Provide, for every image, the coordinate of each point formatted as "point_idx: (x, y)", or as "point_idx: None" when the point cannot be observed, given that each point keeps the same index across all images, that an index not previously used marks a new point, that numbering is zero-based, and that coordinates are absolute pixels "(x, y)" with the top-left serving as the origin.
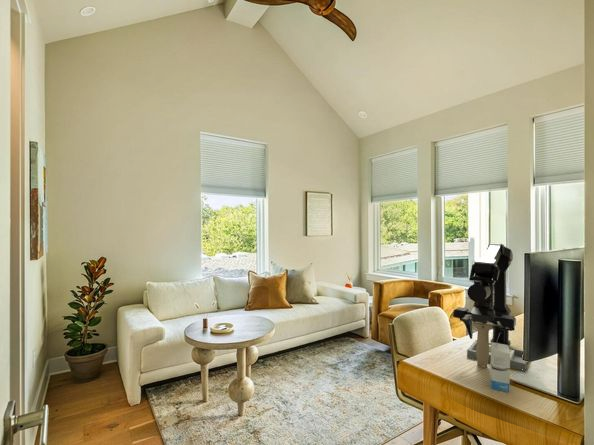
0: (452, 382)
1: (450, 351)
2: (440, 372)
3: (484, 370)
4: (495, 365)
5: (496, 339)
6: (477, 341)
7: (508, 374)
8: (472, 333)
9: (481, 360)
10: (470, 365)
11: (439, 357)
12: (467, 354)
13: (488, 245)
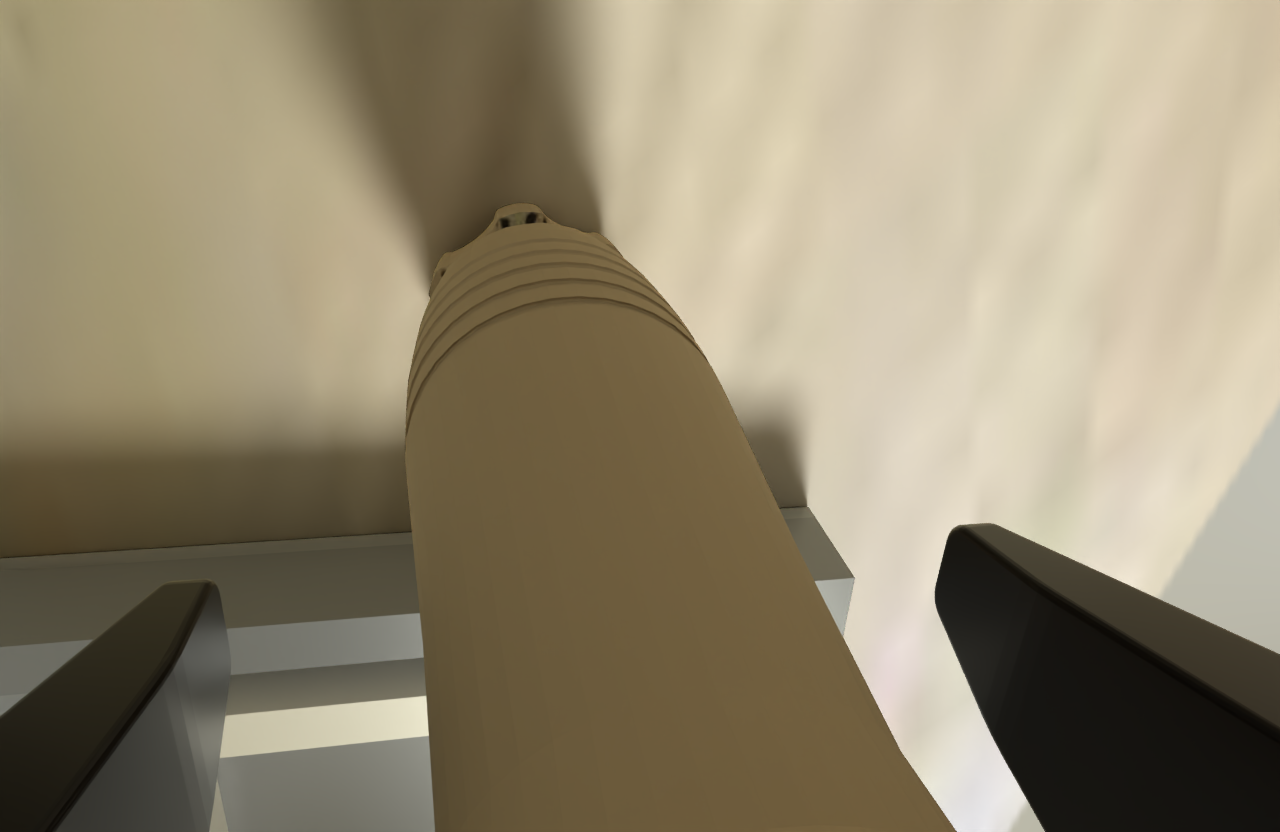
0: None
1: (1048, 525)
2: None
3: (438, 62)
4: None
5: (36, 709)
6: (763, 475)
7: None
8: (1006, 751)
9: (539, 230)
10: (713, 138)
11: (1234, 132)
12: (815, 529)
13: None
